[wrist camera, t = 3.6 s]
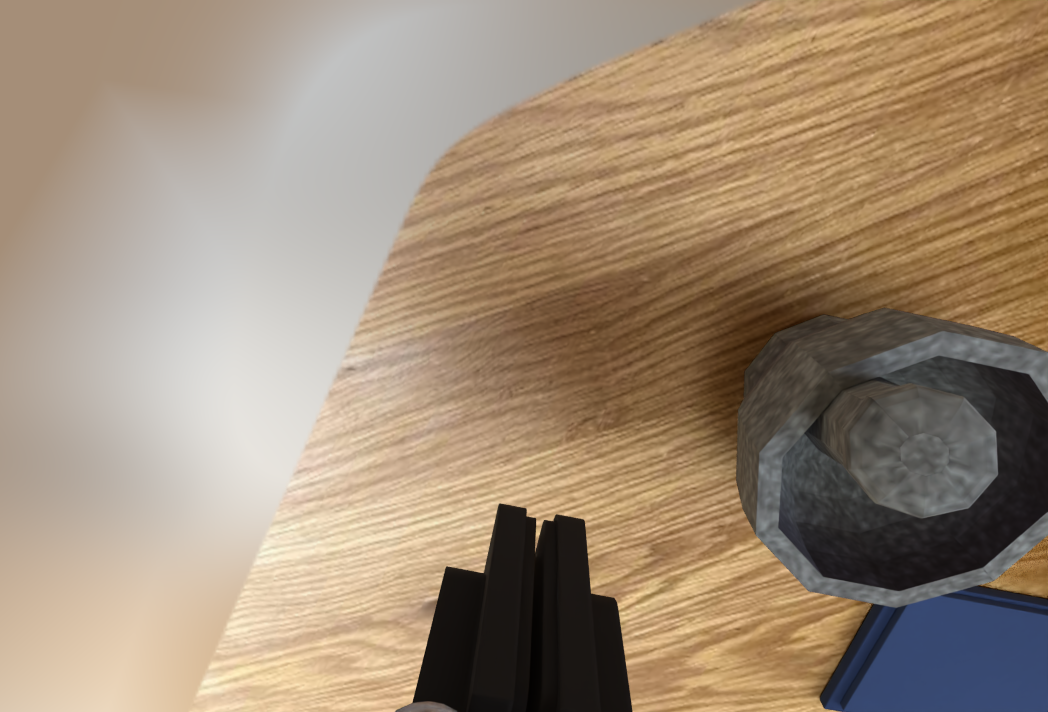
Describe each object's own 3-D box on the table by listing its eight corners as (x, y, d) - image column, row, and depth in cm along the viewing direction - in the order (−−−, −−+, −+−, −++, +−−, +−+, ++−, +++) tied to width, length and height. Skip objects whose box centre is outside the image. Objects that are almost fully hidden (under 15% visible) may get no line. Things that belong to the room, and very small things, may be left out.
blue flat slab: (818, 698, 30) (827, 716, 29) (892, 569, 27) (904, 585, 26) (1032, 736, 31) (1047, 755, 30) (1132, 614, 27) (1152, 631, 26)
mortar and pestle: (983, 399, 23) (1374, 648, 12) (786, 520, 26) (961, 815, 15) (836, 190, 21) (1172, 268, 9) (632, 350, 23) (707, 558, 12)
